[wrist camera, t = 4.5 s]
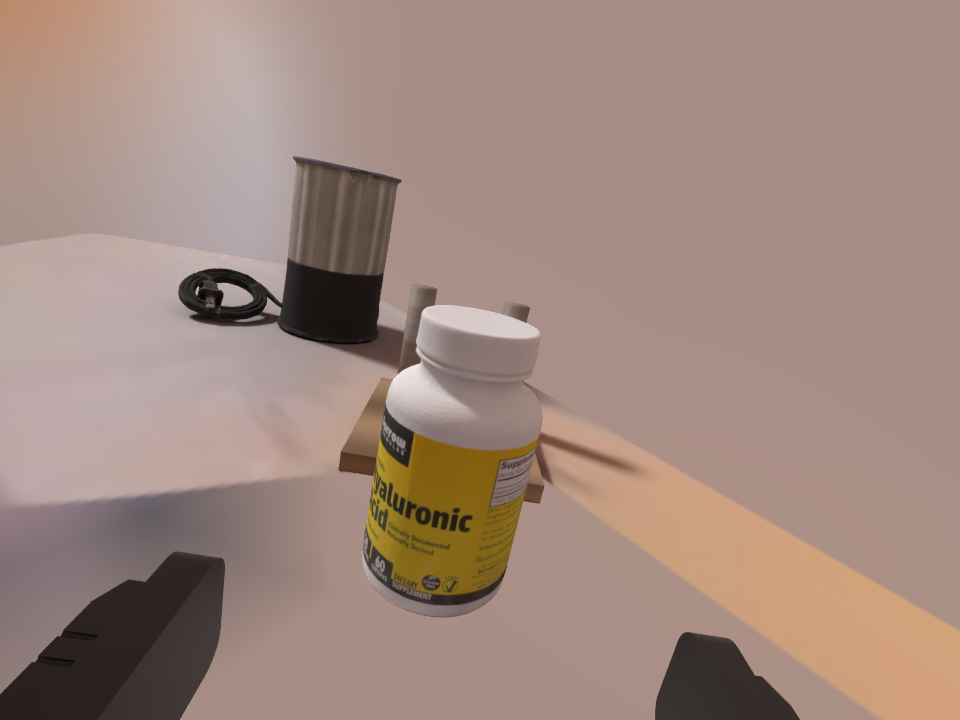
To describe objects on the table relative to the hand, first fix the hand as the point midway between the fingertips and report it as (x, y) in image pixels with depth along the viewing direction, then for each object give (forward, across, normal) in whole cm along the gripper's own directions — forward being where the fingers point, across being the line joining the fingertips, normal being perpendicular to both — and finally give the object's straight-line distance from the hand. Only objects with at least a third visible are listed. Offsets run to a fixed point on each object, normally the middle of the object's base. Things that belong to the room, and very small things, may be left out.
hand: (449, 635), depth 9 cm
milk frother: (+40, +16, +6) cm, 44 cm away
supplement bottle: (+9, 0, +6) cm, 11 cm away
